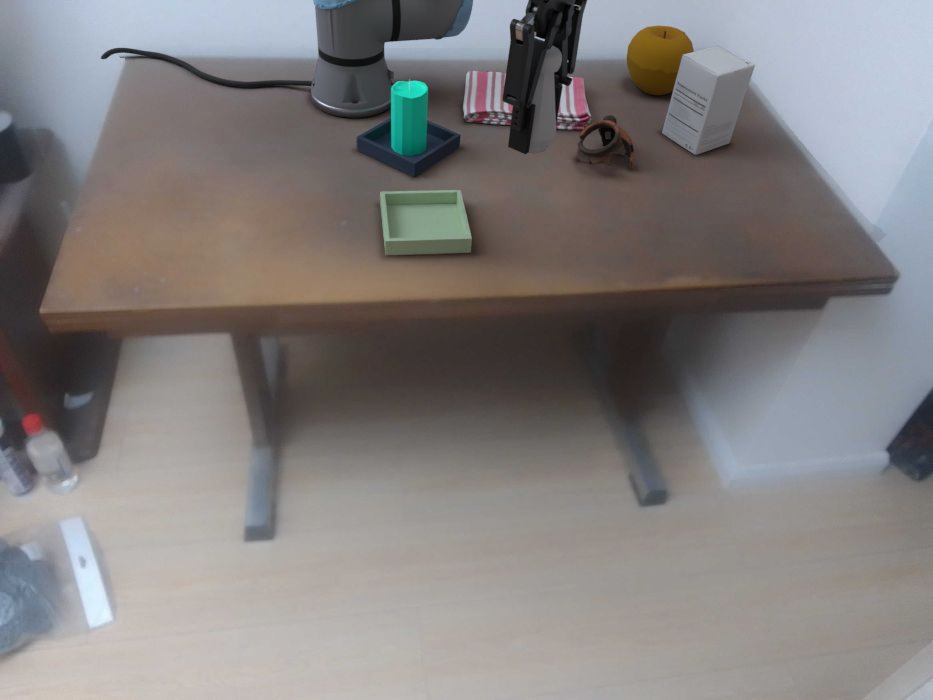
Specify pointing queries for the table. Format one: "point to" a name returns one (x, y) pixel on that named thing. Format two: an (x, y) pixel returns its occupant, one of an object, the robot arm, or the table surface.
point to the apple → (657, 58)
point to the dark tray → (380, 148)
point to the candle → (409, 117)
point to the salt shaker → (545, 103)
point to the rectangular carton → (707, 99)
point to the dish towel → (489, 107)
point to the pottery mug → (606, 142)
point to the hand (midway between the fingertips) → (531, 139)
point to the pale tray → (424, 222)
